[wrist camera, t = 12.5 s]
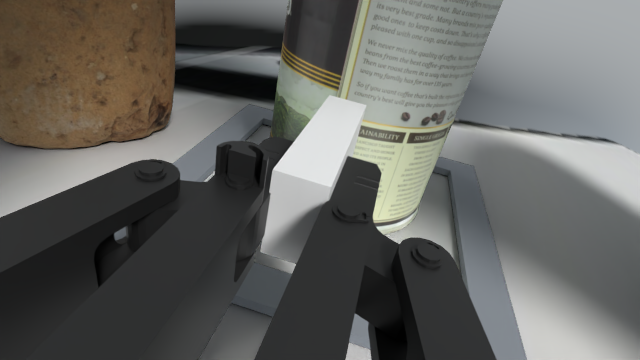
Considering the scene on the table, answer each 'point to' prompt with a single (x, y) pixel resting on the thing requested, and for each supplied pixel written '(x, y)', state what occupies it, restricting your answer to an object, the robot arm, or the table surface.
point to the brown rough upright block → (85, 70)
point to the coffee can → (383, 82)
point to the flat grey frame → (470, 225)
